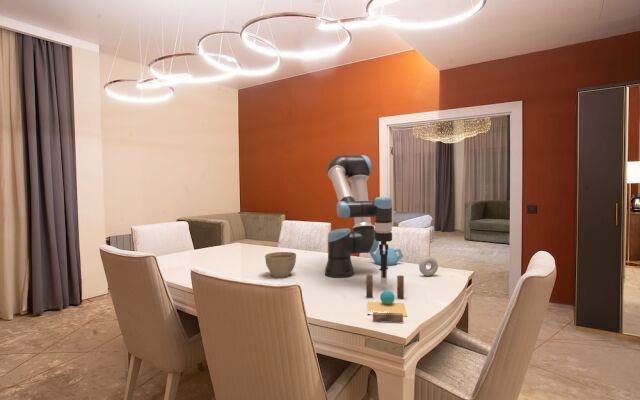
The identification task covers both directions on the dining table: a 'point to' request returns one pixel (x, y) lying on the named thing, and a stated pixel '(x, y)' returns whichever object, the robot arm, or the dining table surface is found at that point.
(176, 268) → the dining table surface
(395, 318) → the brown rectangular bar
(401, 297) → the right post
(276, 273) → the planter bowl
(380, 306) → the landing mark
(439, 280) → the dining table surface
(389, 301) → the ball
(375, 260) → the teapot
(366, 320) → the dining table surface
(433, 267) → the donut
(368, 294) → the left post
